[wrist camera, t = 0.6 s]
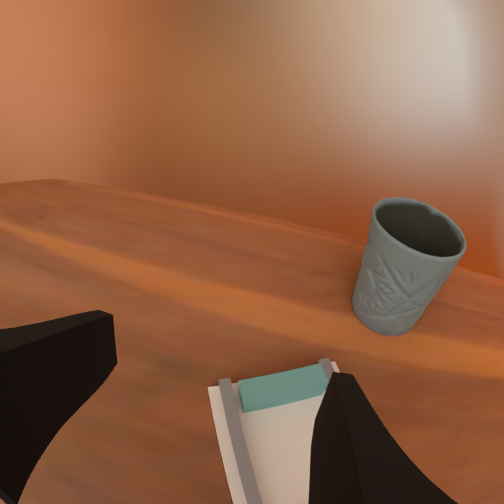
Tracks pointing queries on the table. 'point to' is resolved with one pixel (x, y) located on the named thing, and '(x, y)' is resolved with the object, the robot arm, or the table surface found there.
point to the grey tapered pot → (404, 263)
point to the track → (269, 432)
